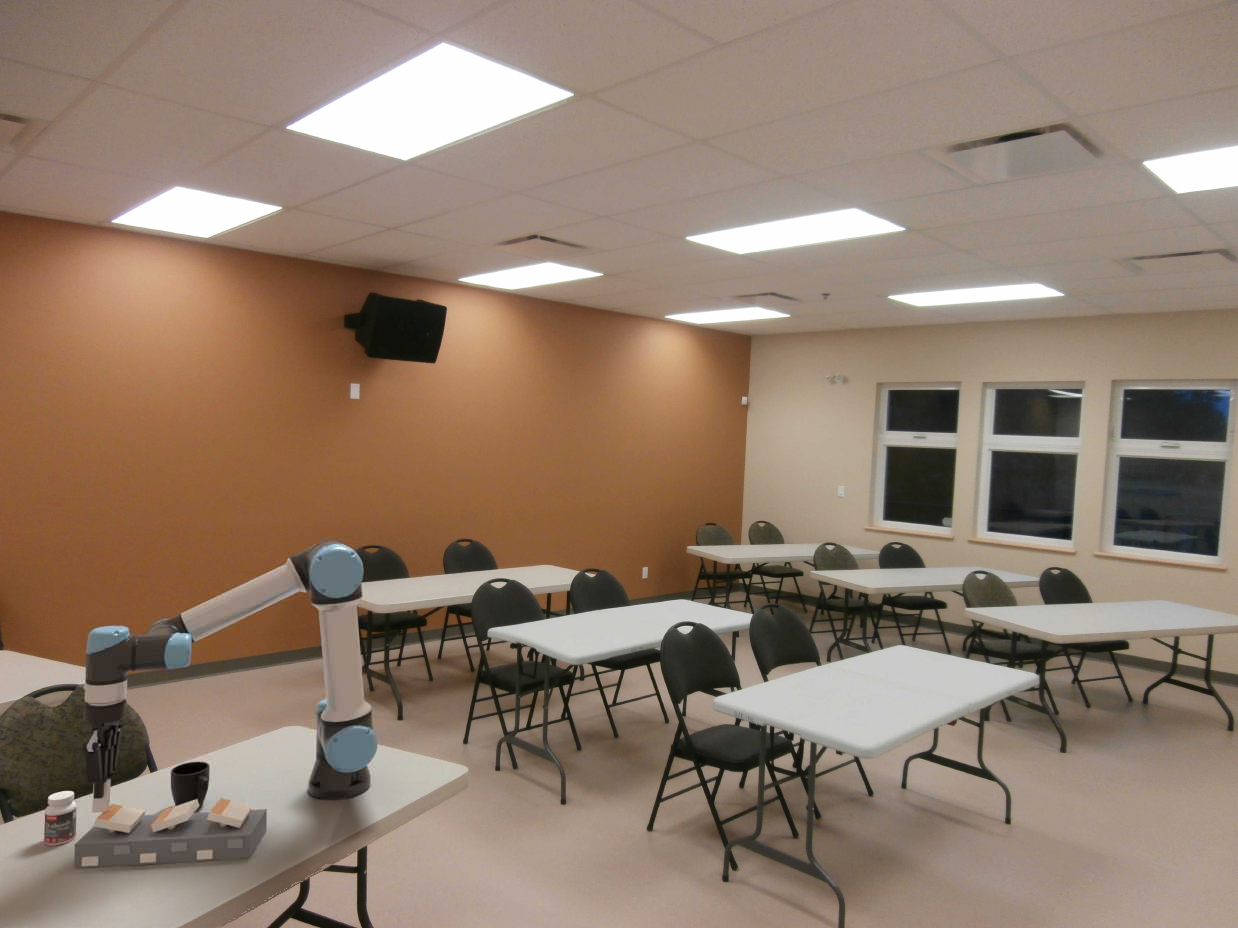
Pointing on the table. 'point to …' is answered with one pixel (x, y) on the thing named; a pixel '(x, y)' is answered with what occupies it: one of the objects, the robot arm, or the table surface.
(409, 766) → the table surface
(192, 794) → the mug
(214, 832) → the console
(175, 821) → the switch
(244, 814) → the switch
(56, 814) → the pill bottle
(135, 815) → the switch
